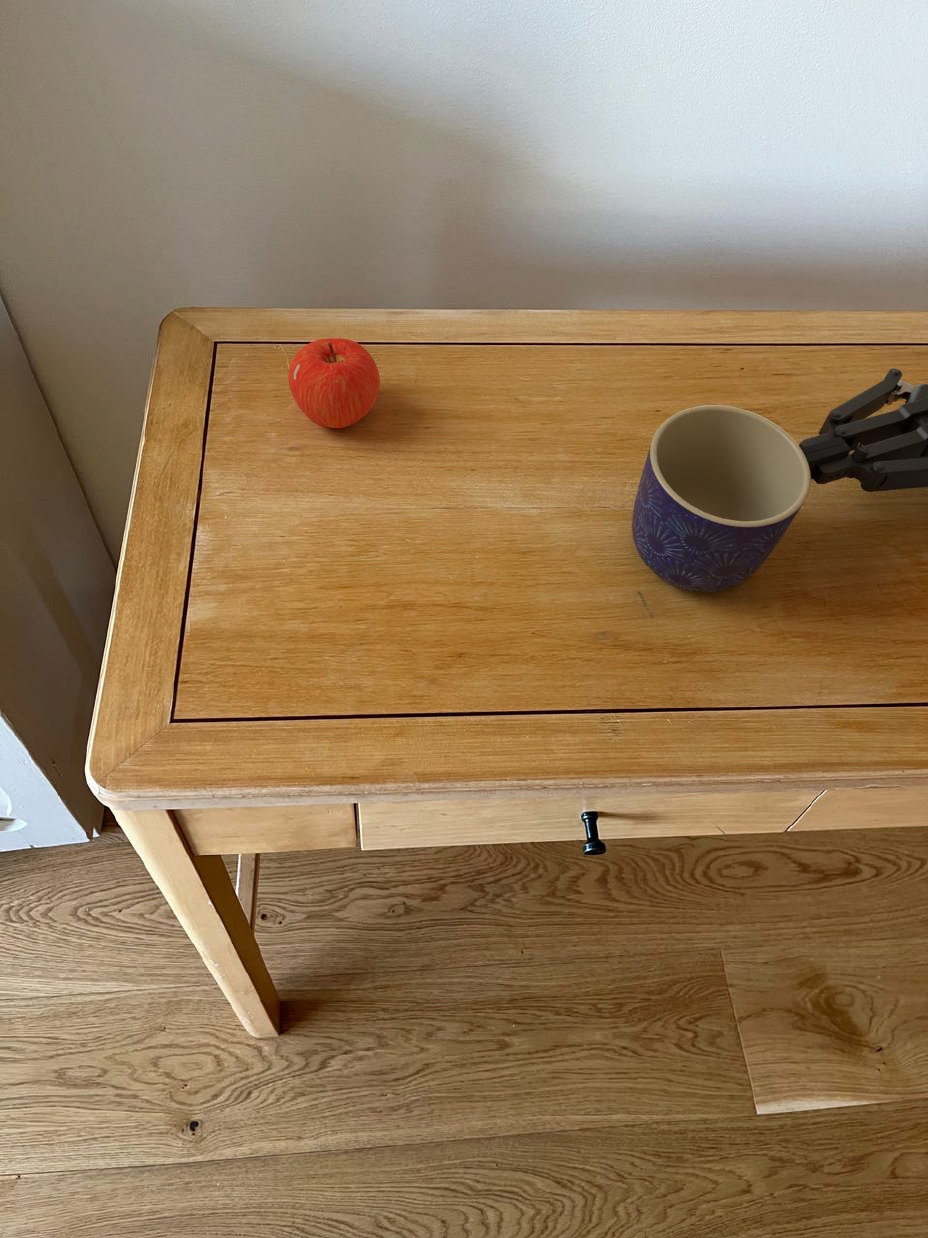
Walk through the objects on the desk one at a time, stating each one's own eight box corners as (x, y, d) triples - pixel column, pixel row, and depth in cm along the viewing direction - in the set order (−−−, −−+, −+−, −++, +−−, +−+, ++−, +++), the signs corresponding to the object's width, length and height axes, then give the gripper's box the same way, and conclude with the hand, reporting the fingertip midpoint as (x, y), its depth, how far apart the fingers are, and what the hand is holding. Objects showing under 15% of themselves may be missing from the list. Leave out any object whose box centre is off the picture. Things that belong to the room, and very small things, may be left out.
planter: (597, 568, 78) (625, 482, 69) (651, 473, 84) (683, 383, 75) (736, 631, 76) (784, 551, 66) (781, 528, 82) (830, 442, 73)
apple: (306, 452, 83) (299, 385, 76) (283, 391, 87) (274, 321, 80) (391, 433, 85) (392, 365, 78) (364, 373, 89) (362, 305, 82)
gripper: (1020, 488, 83) (802, 560, 76) (929, 389, 89) (720, 448, 83) (1073, 428, 76) (839, 501, 70) (970, 326, 83) (747, 385, 76)
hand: (775, 473), depth 76 cm, fingers closed
